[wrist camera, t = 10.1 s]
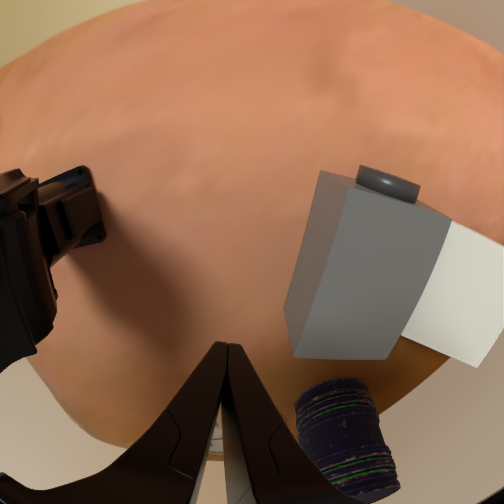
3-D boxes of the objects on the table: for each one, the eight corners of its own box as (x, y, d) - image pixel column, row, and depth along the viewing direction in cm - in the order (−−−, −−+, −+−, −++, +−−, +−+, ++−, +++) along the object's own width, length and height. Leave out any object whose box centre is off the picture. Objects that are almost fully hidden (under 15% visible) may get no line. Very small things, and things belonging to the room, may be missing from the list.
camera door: (373, 322, 23) (476, 367, 17) (419, 207, 18) (534, 265, 13) (376, 313, 24) (475, 357, 19) (419, 205, 20) (528, 258, 14)
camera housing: (283, 308, 24) (292, 357, 18) (323, 154, 18) (354, 165, 13) (363, 316, 25) (385, 359, 19) (412, 181, 19) (457, 201, 14)
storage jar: (367, 366, 28) (408, 477, 14) (368, 406, 32) (396, 494, 18) (285, 391, 29) (298, 508, 15) (301, 426, 33) (313, 518, 19)
